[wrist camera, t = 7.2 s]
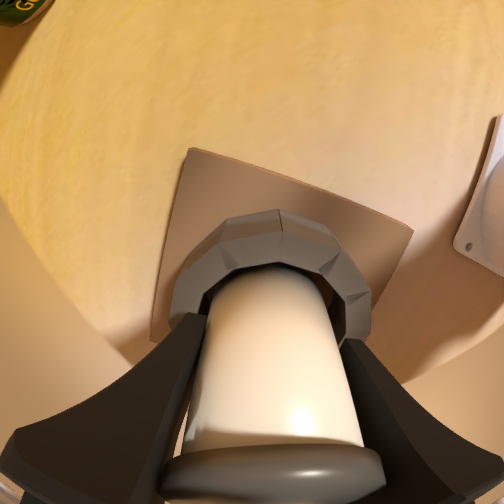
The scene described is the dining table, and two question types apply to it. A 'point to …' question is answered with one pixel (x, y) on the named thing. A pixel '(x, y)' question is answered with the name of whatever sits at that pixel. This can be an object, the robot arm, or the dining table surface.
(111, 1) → the dining table surface
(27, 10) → the green guarana soda can
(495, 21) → the dining table surface
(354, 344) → the robot arm
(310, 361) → the grey-capped cream cylinder
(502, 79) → the dining table surface
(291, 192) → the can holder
